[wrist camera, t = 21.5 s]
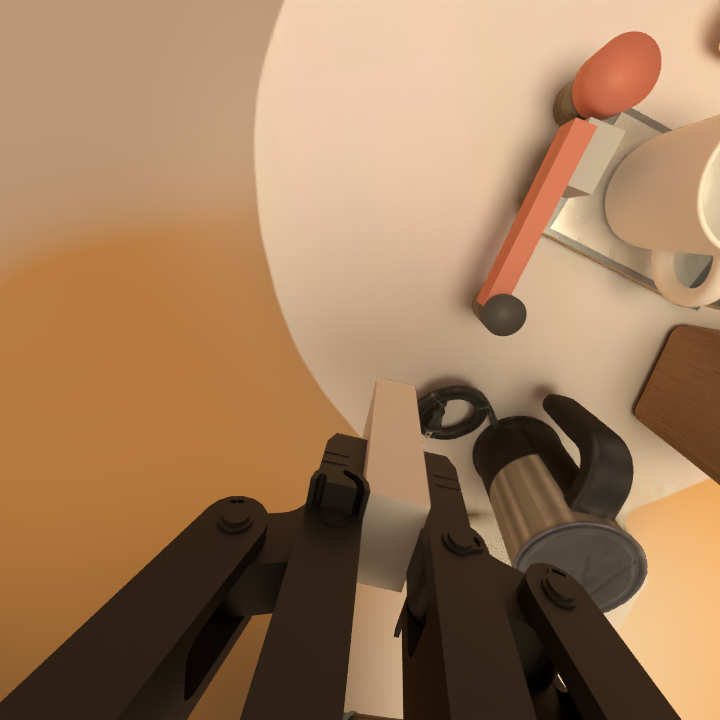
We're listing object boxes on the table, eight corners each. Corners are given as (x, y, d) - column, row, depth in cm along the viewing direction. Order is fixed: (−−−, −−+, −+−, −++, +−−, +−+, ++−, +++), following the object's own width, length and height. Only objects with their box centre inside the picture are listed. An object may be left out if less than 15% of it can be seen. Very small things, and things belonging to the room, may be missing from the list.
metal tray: (684, 306, 34) (743, 323, 28) (494, 210, 32) (515, 207, 27) (778, 190, 30) (866, 182, 24) (568, 76, 29) (611, 40, 23)
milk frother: (555, 489, 41) (636, 623, 27) (411, 488, 43) (420, 615, 29) (571, 370, 37) (680, 459, 23) (409, 374, 38) (419, 460, 24)
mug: (688, 291, 32) (818, 321, 22) (586, 295, 32) (667, 325, 23) (728, 129, 28) (908, 78, 18) (609, 138, 28) (721, 94, 19)
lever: (500, 325, 33) (520, 344, 28) (458, 309, 33) (470, 325, 28) (630, 75, 26) (688, 38, 21) (578, 53, 26) (624, 11, 21)
